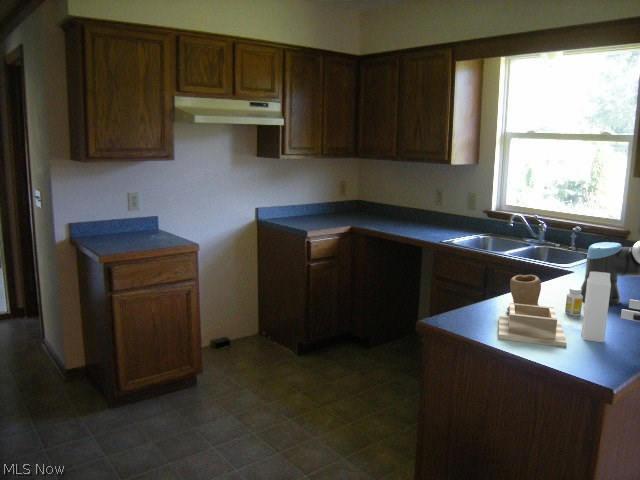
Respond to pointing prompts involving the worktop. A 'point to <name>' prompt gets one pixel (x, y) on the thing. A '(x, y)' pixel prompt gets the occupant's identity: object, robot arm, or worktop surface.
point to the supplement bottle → (574, 301)
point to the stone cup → (525, 289)
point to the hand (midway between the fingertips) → (625, 308)
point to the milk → (596, 306)
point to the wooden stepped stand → (532, 325)
